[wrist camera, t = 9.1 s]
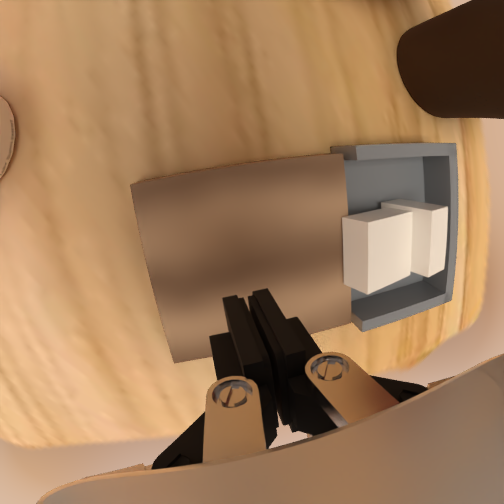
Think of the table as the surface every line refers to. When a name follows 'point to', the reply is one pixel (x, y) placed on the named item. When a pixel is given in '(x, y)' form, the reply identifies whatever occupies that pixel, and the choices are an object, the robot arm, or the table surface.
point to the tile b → (425, 234)
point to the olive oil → (457, 61)
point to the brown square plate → (245, 244)
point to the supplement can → (6, 135)
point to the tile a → (376, 248)
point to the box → (408, 188)
